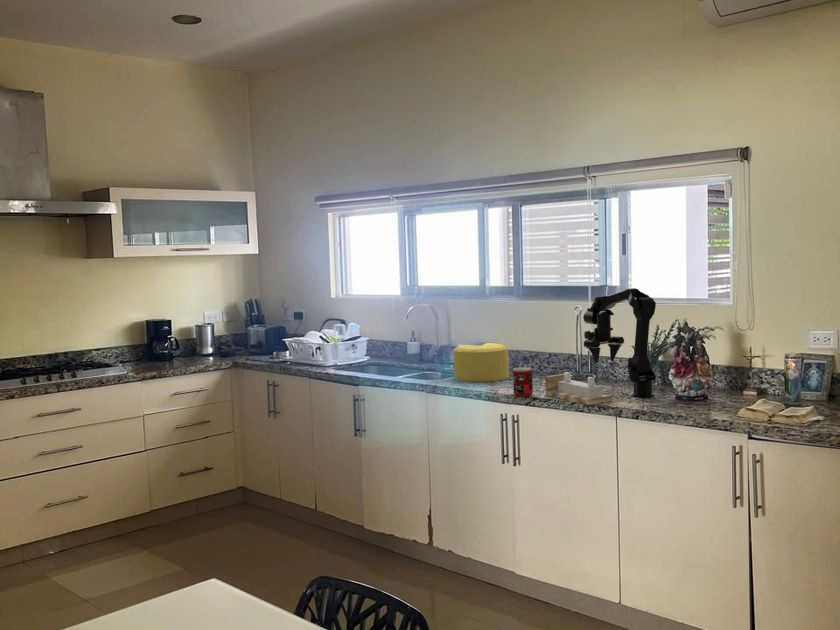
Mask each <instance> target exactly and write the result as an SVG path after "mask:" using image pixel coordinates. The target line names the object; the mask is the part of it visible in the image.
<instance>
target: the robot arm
mask: <svg viewBox="0 0 840 630" xmlns="http://www.w3.org/2000/svg"><path fill="white" fill-rule="evenodd" d="M626 301H628V305H630V307H631V308H632V312H633V313H632V314H633V316H634V317H635V319H636V321H635V322H636V323H635V324H636V325H635V337H634V348H633V349H634V352H633V355H632V357H628V359H627V373H628V376H629V379H630V382H632V383H633V394H631V396H632V397H635V398H640V399H646V398H647V399H648V398H652V397H655V394H653V393H652V391H653V389H652V388H653V387H652V381H653V382H654V381H656V379H657V378H656V376H657V375H656V374H655V372H654V371H653V369H652V367H651V361H650V358H649V356H648V346H649V334H650V333H649V332H650V321H651V319H652V318H653V316H654V315H655V311H656V306H657V302H656V301H655V300H654V298H653V297H651V296H650V295H648V294H646V293H644V292H642V291H640V290H639V289H638V288H635V287H633V288H626V289H624V290H622V291H618V292H615V293H612V294H610V295H602V296H601V295H598V296H596V297H594V300H593V302H592V304H591V306H590V307H589V308H587V309H586V311H585V312H584V314H583V321H584V323H586V324H589V325H596V327H594V329H593V330H594V331H590V330H586V331H584V339H585V340H584V341H583V347H584V348H586V349H588V350H589V351H590V353H591V355H592V358H593V360H594V363H595V364H598V363H599V360H600V353H601V347H600V346H601V345H606V344H607V346H608V347H609V354H610V355H609V356H610V361H611V362H614V359H615V357H616V356H617V354H618V352H619V350H620V348H621V347H623V344H625V338H624V337H623V336H618V335H612V331H613V330H614V329H613V327H611V326H612V324H611V322H612V320H611V316H614V315H615V314H614V311H612V310H611V309H613V308H614V307H616V305H617V304H620V303H623V302H626Z"/></svg>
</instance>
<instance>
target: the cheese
mask: <svg viewBox="0 0 840 630" xmlns="http://www.w3.org/2000/svg"><path fill="white" fill-rule="evenodd" d="M509 358H510V357H509V347H508V346H507V345H505V344H502V343H491V342H489V343H488V342H487V343H484V344H481V345H475V344H474V345H473V344H461V345H459V346H456V347H455V348H454V349H453V361H454V362H453V365H454V367H453V369H454V379H455V380H457V381H461V382H475V383H476V382H496V381H501V380H506V379H508V378H509V377H510V363H509V362H510V361H509V360H510V359H509Z"/></svg>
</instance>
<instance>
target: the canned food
mask: <svg viewBox="0 0 840 630" xmlns="http://www.w3.org/2000/svg"><path fill="white" fill-rule="evenodd" d="M512 383H513V384H512V385H513V386H512V387H513V394H514V396H515V397H530V396H533V392H534V390H533V389H534V388H533V387H534V385H533V384H534V383H533V368H532V367H525V366H523V367H514V368H512Z"/></svg>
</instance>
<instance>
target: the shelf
mask: <svg viewBox="0 0 840 630" xmlns="http://www.w3.org/2000/svg"><path fill="white" fill-rule="evenodd" d="M558 381H564V373H561V374H560V373H559V374H554V375H548V376H545V397H549V396H551V397H550V398H554V397H556V398H555V399H558V398H561V399H560V400H563V399H565V400H564V401H569V402H573V403H577V404H578V403H579V404H582V405H588V406H591V405H597V403H598V404H601V402H603V403H607V402H612V401H613V395H610V394H604V393H602V396H601V397H594V398H586V397H582V396H578V395H573V394H569V393H565V392H561V391H558Z"/></svg>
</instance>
